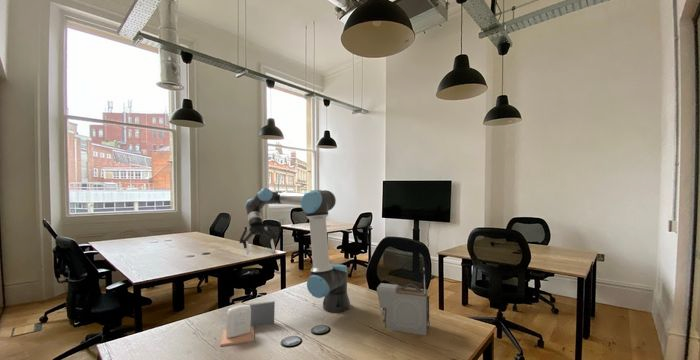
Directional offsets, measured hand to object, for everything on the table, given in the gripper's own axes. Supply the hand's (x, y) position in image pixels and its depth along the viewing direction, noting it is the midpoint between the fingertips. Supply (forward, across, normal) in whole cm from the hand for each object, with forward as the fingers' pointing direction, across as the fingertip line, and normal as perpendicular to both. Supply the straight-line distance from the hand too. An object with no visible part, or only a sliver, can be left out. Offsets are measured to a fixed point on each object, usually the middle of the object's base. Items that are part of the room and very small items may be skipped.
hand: (261, 251), depth 154 cm
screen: (+33, +4, -12) cm, 35 cm away
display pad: (+38, +15, -7) cm, 41 cm away
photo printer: (+37, +14, -7) cm, 40 cm away
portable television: (+59, -54, +14) cm, 81 cm away
